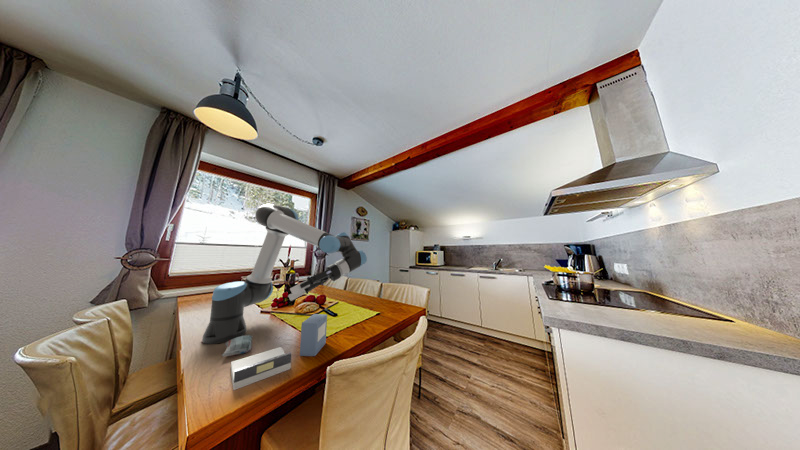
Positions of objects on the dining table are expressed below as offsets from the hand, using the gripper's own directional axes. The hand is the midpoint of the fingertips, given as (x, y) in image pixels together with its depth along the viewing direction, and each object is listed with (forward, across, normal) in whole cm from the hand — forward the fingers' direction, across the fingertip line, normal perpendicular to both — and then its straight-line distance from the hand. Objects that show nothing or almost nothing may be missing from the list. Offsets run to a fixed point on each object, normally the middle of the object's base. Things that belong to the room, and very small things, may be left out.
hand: (290, 295), depth 79 cm
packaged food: (+22, +18, -8) cm, 30 cm away
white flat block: (+17, +2, -17) cm, 24 cm away
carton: (+1, +7, -23) cm, 24 cm away
